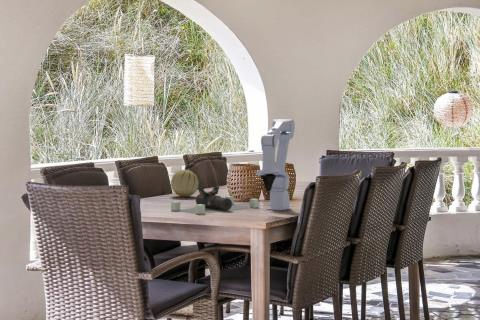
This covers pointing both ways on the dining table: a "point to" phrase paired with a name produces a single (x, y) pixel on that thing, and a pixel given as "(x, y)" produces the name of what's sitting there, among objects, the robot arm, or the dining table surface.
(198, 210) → the bay
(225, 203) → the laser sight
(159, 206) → the dining table surface
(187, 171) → the cantaloupe
